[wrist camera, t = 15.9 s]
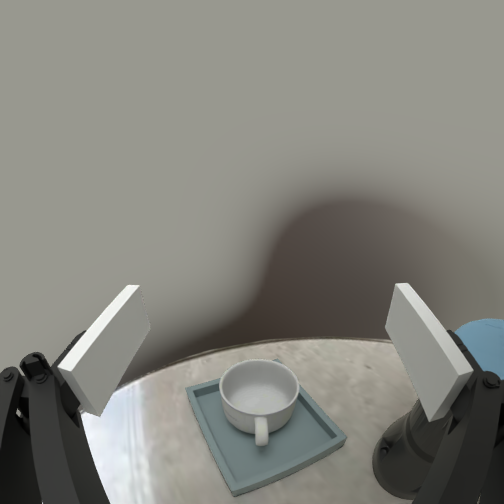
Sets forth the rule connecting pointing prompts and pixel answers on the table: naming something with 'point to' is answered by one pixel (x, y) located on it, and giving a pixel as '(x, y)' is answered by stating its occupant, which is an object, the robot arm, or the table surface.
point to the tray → (279, 442)
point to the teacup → (258, 396)
